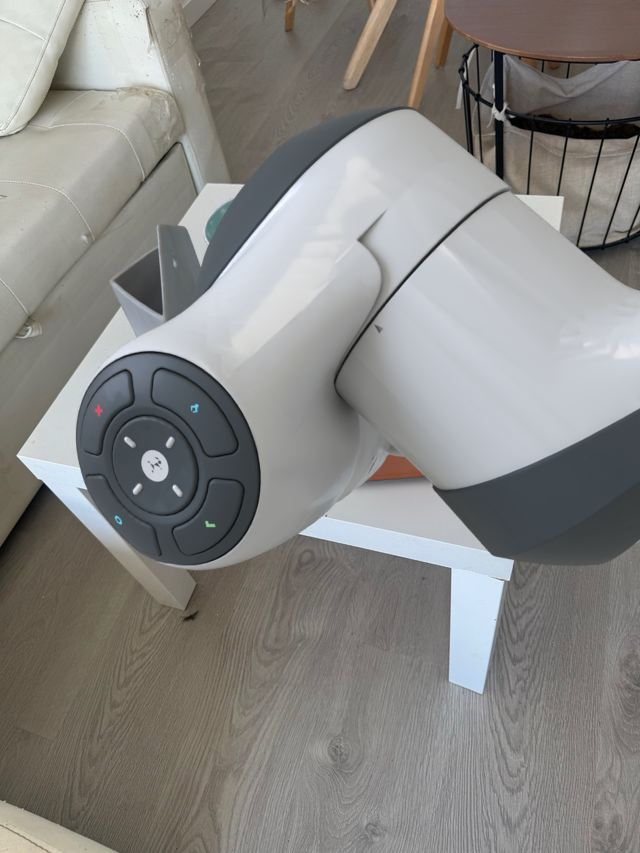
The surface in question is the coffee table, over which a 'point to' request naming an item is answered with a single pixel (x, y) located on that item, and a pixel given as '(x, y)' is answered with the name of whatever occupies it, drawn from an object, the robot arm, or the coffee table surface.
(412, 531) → the coffee table surface
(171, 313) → the planter
